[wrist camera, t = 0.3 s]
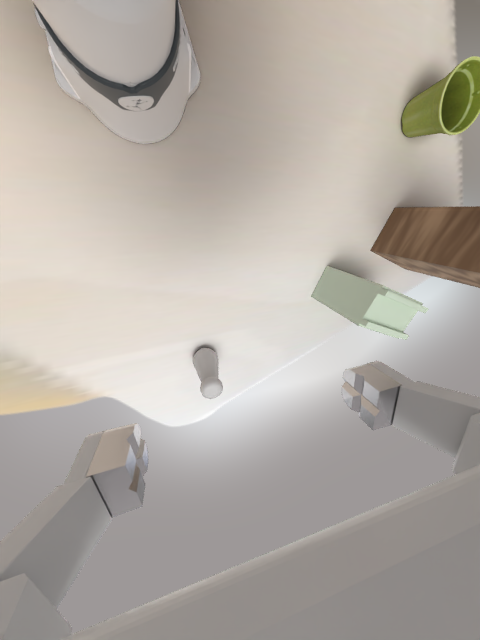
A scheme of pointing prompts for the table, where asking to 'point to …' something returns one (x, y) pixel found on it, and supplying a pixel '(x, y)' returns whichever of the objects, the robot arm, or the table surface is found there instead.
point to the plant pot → (446, 103)
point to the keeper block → (366, 302)
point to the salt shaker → (208, 372)
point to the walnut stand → (434, 242)
